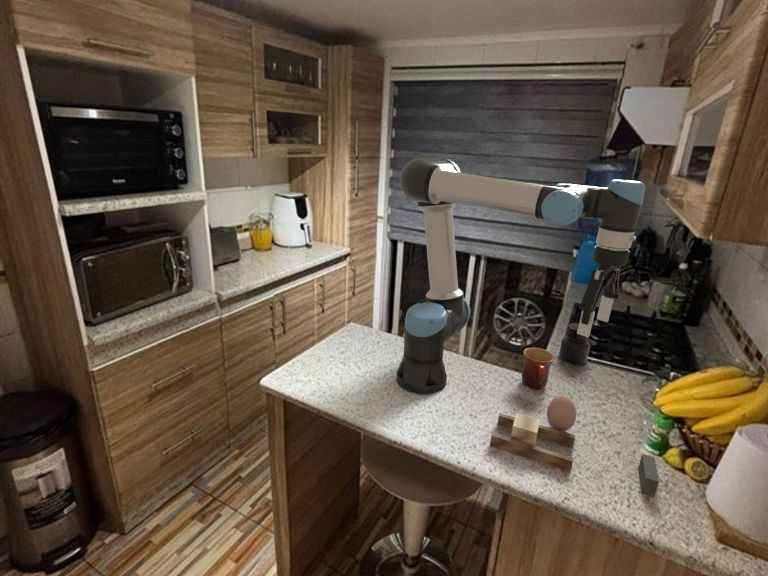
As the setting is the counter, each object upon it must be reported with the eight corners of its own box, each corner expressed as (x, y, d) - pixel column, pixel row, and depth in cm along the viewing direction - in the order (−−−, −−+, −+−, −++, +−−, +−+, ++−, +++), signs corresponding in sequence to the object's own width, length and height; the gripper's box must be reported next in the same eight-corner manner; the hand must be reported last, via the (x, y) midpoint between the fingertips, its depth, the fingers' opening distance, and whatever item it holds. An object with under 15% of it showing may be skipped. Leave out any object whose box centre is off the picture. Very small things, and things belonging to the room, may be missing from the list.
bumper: (641, 492, 88) (645, 477, 87) (638, 467, 95) (642, 453, 94) (654, 496, 87) (659, 481, 86) (650, 471, 94) (654, 457, 93)
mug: (517, 375, 131) (521, 346, 128) (546, 379, 130) (551, 349, 126) (521, 396, 120) (526, 365, 117) (553, 401, 119) (559, 369, 115)
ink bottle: (591, 359, 143) (598, 328, 139) (582, 369, 137) (589, 335, 133) (563, 349, 149) (569, 319, 145) (553, 358, 143) (559, 326, 139)
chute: (489, 445, 100) (491, 435, 99) (498, 422, 109) (499, 413, 108) (570, 472, 93) (573, 461, 92) (572, 445, 101) (575, 435, 100)
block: (509, 446, 100) (512, 425, 98) (513, 433, 105) (516, 413, 103) (533, 454, 98) (537, 433, 96) (536, 440, 103) (540, 419, 101)
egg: (577, 429, 107) (584, 397, 104) (565, 441, 103) (573, 408, 99) (551, 417, 112) (557, 385, 108) (539, 428, 107) (545, 395, 104)
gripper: (612, 259, 89) (590, 347, 96) (644, 242, 106) (623, 319, 113) (576, 251, 94) (558, 336, 101) (613, 237, 110) (595, 310, 118)
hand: (592, 327), depth 107 cm, fingers open, 13 cm apart
